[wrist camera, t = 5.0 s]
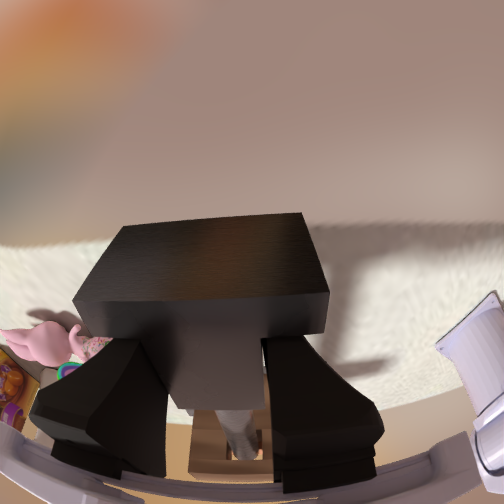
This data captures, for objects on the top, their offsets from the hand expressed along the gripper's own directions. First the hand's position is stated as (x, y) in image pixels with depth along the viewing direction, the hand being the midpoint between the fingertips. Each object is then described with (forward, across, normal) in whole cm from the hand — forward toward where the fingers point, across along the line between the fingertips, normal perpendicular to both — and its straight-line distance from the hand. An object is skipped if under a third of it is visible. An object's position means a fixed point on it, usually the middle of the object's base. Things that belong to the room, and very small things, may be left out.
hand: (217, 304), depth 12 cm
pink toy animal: (+6, +16, +8) cm, 19 cm away
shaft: (+1, 0, +5) cm, 6 cm away
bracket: (+5, 0, +14) cm, 15 cm away
